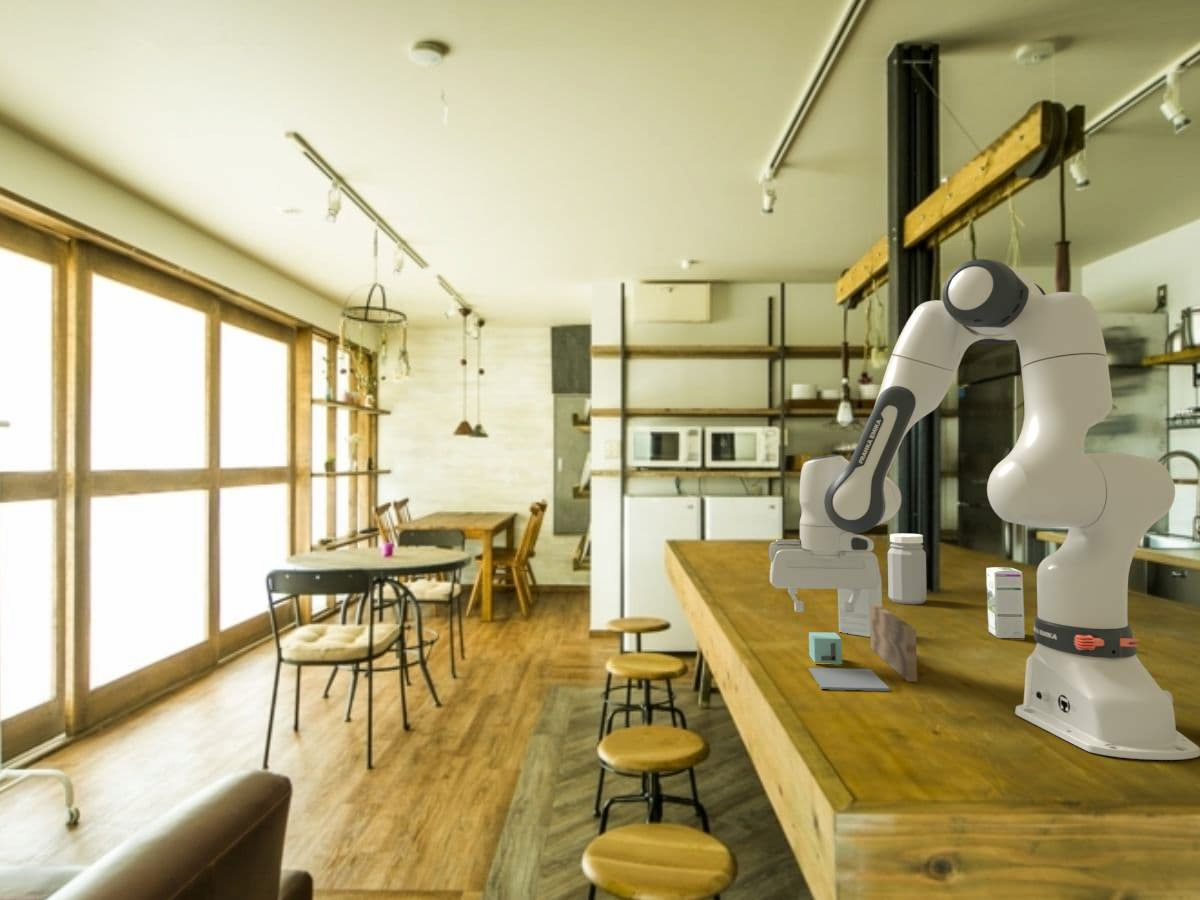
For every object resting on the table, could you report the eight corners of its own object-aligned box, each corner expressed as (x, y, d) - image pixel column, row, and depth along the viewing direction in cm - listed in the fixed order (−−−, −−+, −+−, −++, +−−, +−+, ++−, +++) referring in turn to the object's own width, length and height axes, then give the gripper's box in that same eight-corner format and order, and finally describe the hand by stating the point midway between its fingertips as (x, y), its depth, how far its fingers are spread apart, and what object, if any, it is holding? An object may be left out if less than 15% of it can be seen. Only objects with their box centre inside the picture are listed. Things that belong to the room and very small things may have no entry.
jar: (892, 604, 188) (891, 536, 188) (884, 597, 198) (883, 532, 198) (932, 605, 186) (930, 536, 187) (921, 598, 196) (920, 533, 196)
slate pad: (889, 691, 117) (889, 688, 117) (821, 690, 118) (821, 687, 118) (870, 671, 128) (870, 669, 128) (808, 670, 129) (808, 668, 129)
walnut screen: (916, 681, 122) (915, 629, 123) (907, 681, 122) (906, 629, 123) (878, 648, 144) (877, 604, 144) (870, 648, 144) (870, 604, 145)
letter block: (842, 666, 133) (841, 639, 133) (814, 665, 133) (814, 638, 133) (835, 658, 138) (835, 632, 138) (809, 658, 138) (808, 632, 138)
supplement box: (883, 631, 158) (882, 575, 159) (870, 638, 153) (869, 579, 153) (851, 626, 163) (850, 571, 164) (837, 632, 158) (836, 575, 158)
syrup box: (1025, 639, 150) (1024, 571, 150) (995, 638, 151) (994, 570, 152) (1015, 633, 156) (1014, 567, 156) (986, 632, 157) (985, 566, 157)
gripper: (770, 541, 134) (771, 614, 134) (882, 541, 132) (883, 616, 132) (766, 537, 140) (766, 606, 140) (873, 537, 138) (873, 608, 138)
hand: (824, 611), depth 136 cm, fingers open, 8 cm apart
